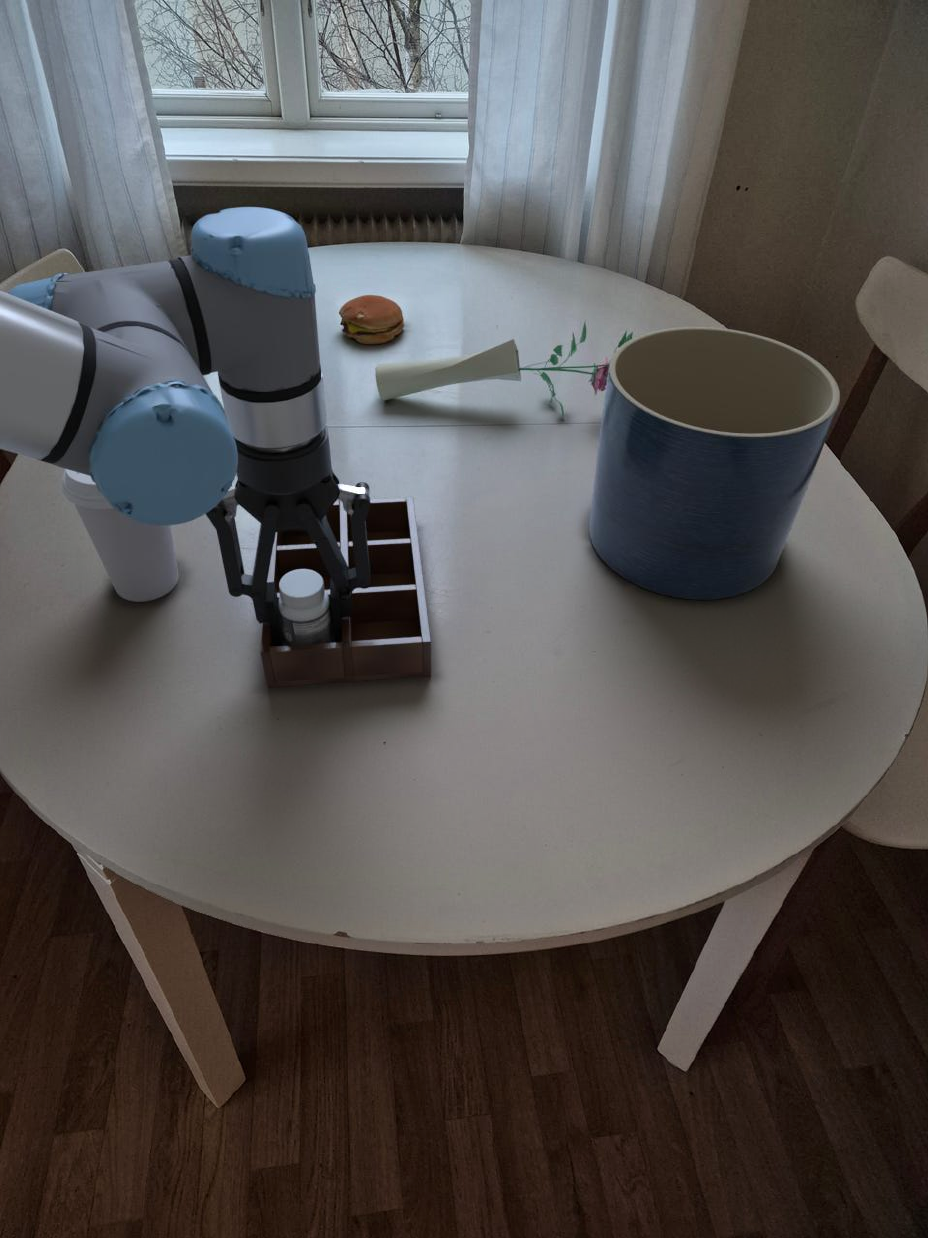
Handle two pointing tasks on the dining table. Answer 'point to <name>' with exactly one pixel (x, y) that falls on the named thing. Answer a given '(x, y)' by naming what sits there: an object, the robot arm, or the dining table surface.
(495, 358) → the flower vase
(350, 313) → the burger
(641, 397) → the planter
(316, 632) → the pill bottle
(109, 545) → the coffee cup
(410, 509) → the grid
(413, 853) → the dining table surface
